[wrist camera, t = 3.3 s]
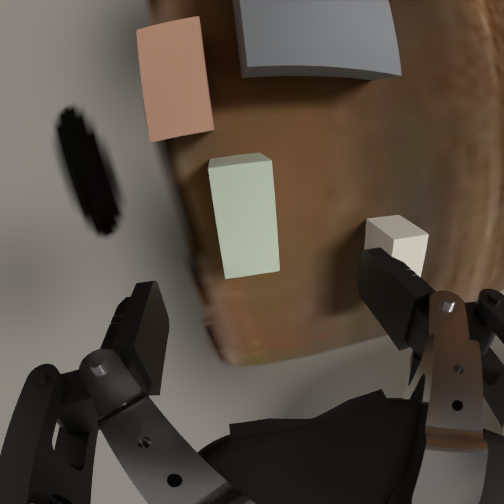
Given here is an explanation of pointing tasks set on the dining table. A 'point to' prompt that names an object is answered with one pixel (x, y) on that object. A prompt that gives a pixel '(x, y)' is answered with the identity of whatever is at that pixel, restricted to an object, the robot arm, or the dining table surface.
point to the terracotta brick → (174, 79)
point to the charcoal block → (316, 38)
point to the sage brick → (245, 213)
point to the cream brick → (397, 240)
